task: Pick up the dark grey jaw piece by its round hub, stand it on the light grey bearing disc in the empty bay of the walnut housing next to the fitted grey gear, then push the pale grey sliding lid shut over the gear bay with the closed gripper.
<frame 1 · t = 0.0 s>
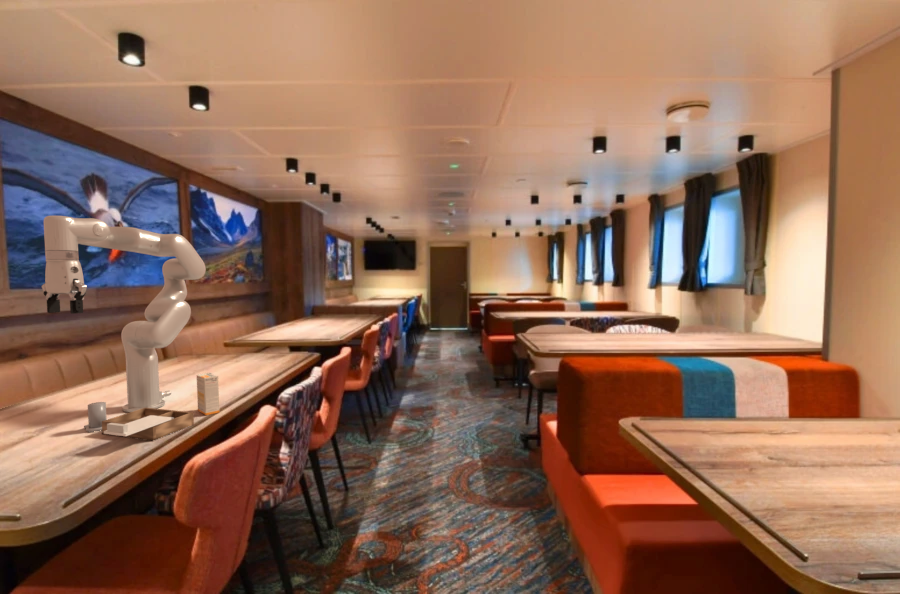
hand: (65, 312, 133), 37 cm above the table, tool pointing down, fingers open, 9 cm apart
lid: (138, 421, 126), point 6 cm above the table, slide at 8.0 cm
supplement box: (208, 412, 152), on the table
housing: (149, 429, 135), on the table
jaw: (98, 429, 136), on the table
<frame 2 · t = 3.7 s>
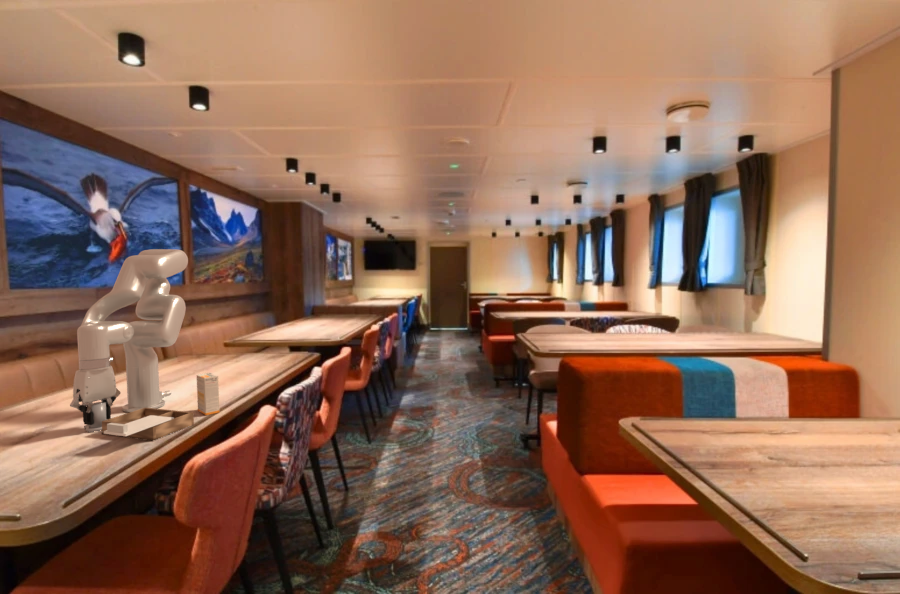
hand: (97, 421, 135), 3 cm above the table, tool pointing down, fingers closed on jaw, 4 cm apart
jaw: (98, 429, 136), on the table, touching gripper
everything else where it was.
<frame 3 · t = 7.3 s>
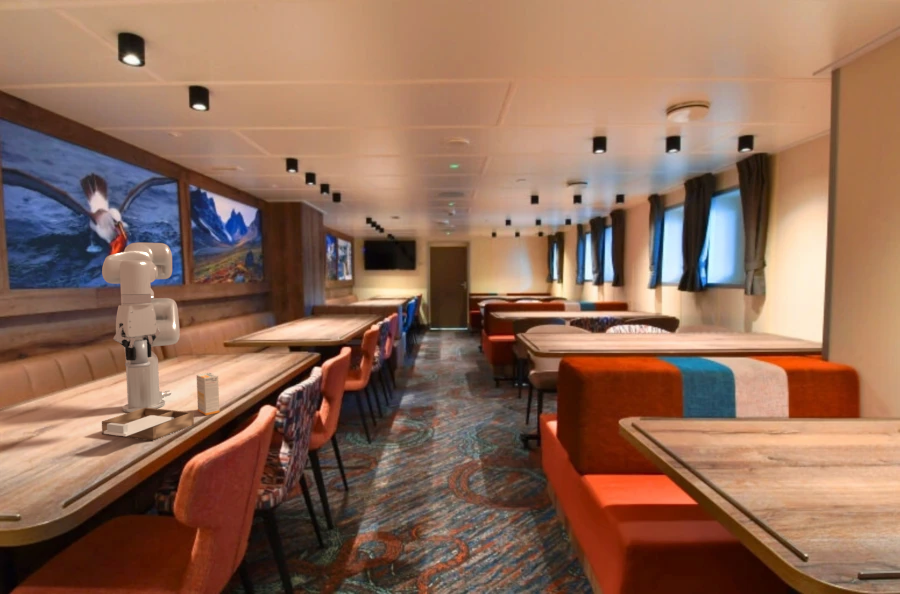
hand: (138, 358, 135), 22 cm above the table, tool pointing down, fingers closed on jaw, 4 cm apart
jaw: (139, 366, 135), point 20 cm above the table, touching gripper
everything else where it was.
when the fingers open (4 cm above the table, at t = 10.8 s): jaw stays where it is, resting on housing.
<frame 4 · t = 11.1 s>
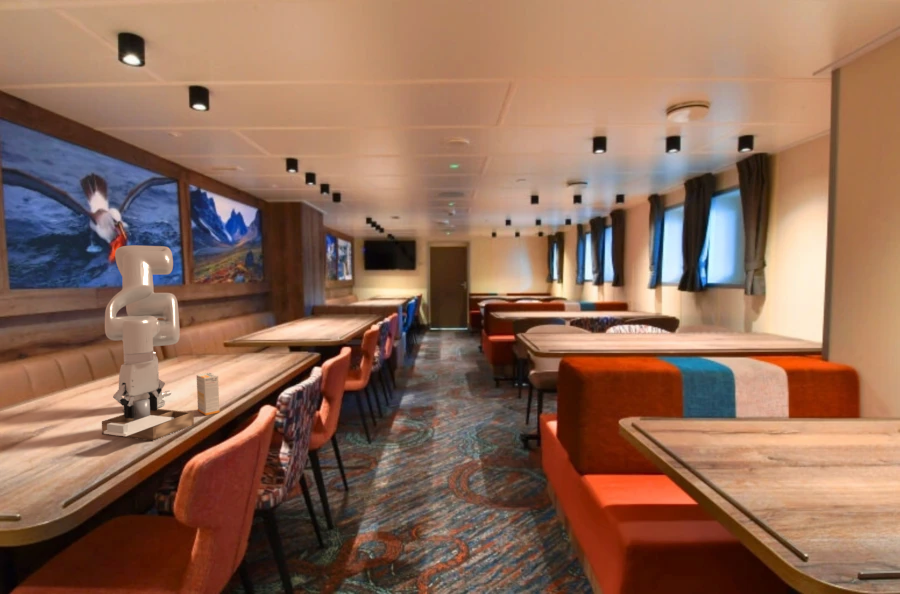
hand: (141, 413, 136), 5 cm above the table, tool pointing down, fingers open, 7 cm apart
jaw: (142, 425, 136), point 1 cm above the table, touching housing
everything else where it was.
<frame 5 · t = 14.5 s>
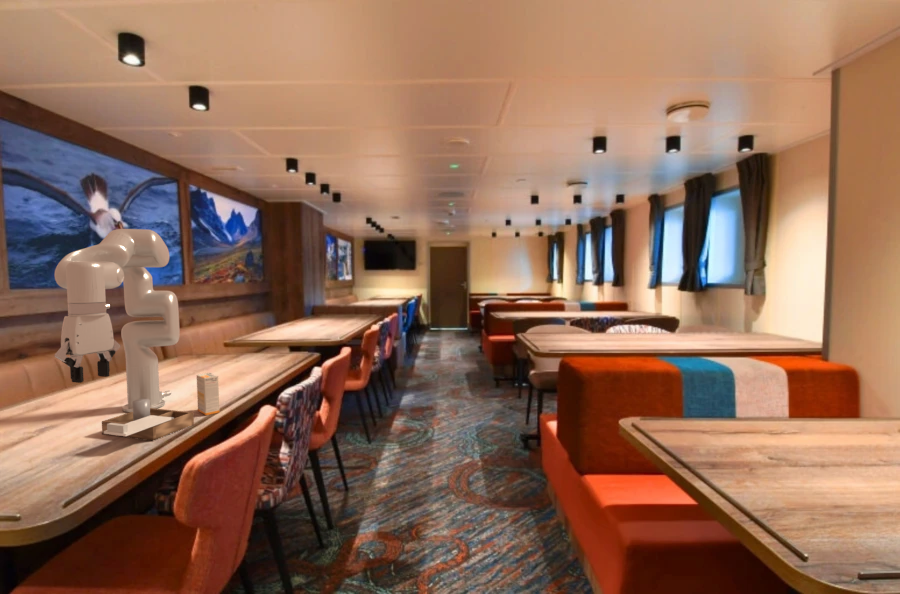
hand: (91, 378, 112), 22 cm above the table, tool pointing down, fingers open, 5 cm apart
nothing on the table moved.
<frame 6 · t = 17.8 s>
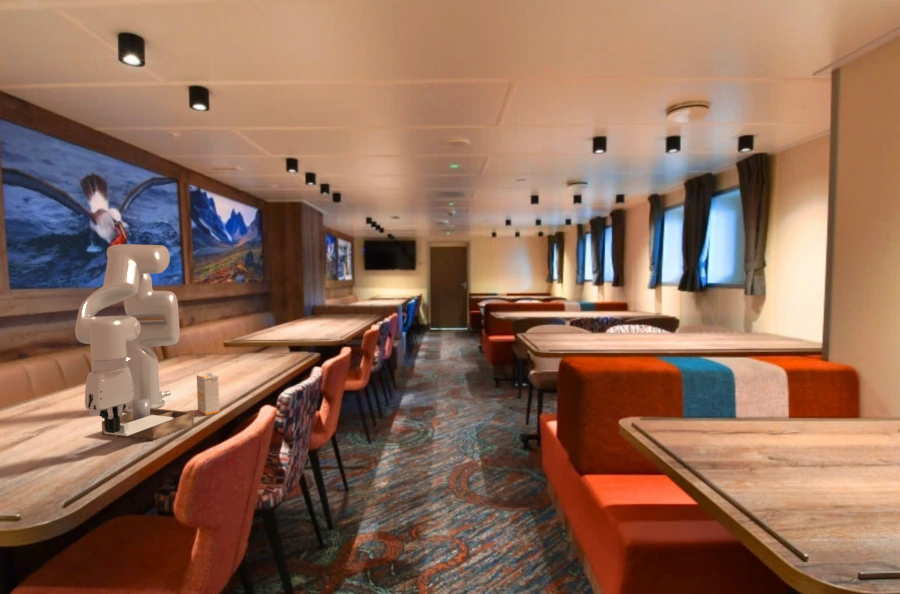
hand: (112, 431, 117), 6 cm above the table, tool pointing down, fingers closed
lid: (139, 421, 126), point 6 cm above the table, slide at 7.7 cm, touching gripper
everything else where it was.
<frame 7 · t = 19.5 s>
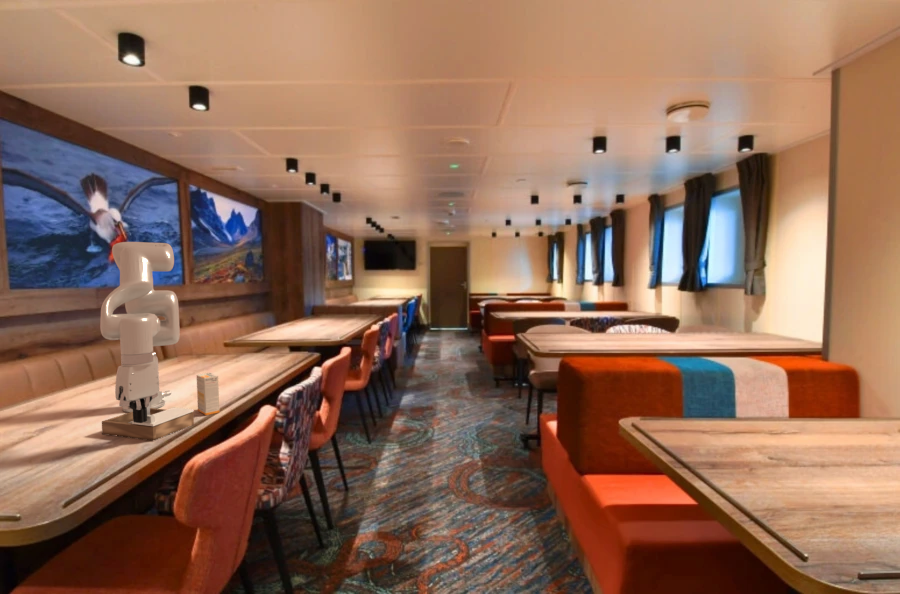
hand: (140, 421, 125), 6 cm above the table, tool pointing down, fingers closed
lid: (164, 413, 133), point 6 cm above the table, slide at -0.1 cm, touching gripper
everything else where it was.
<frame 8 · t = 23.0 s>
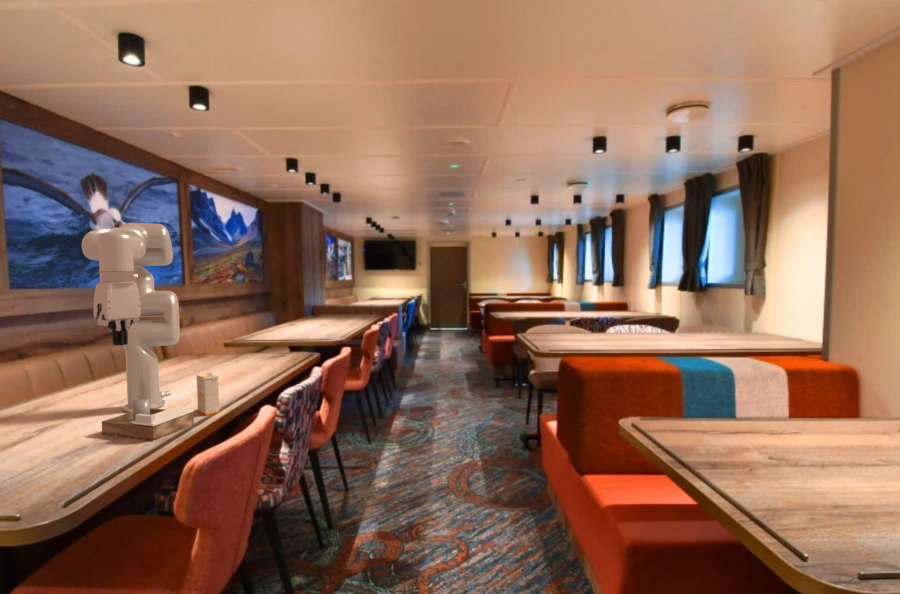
hand: (120, 344, 119), 29 cm above the table, tool pointing down, fingers closed
lid: (164, 412, 133), point 6 cm above the table, slide at -0.2 cm
everything else where it was.
at the end: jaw inside the target area on the housing (0.5 cm from its centre), point 0.8 cm above the housing's base; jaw tilted 0°; lid slide at -0.2 cm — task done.
